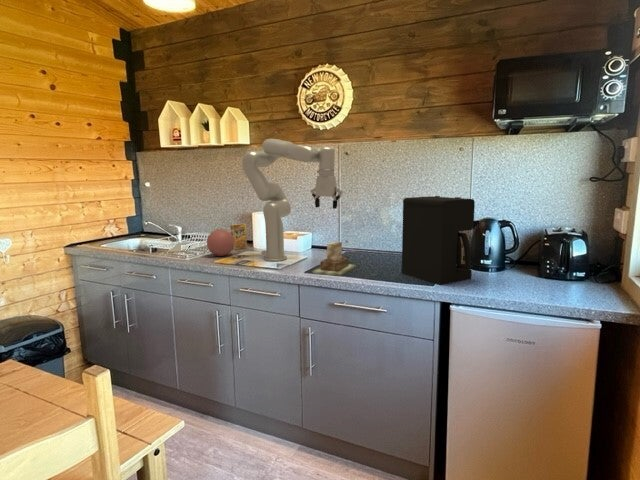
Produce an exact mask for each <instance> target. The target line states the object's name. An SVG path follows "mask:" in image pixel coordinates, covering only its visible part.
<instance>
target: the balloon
mask: <svg viewBox="0 0 640 480" xmlns="http://www.w3.org/2000/svg"><path fill="white" fill-rule="evenodd" d="M206 238H207V239H206V247H207V250H208V251H209V252H210V253H211V254H213V255H215V256H217V257H225V256H227V255H229V254H230V253H231V252H232V251H233V250H234V249H233V248H234V244H235V241H234V237H233V235H232V234H231V231H228V230H226V229H224V228H219V229H215V230H212V232H210V233H209V235H208V236H207V237H206Z"/></svg>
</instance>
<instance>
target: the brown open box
mask: <svg viewBox="0 0 640 480" xmlns="http://www.w3.org/2000/svg"><path fill="white" fill-rule="evenodd" d="M349 259H350V258H349V257H344V256H342V260H340V261H338V262H328V261H327V258H325V259H323V260H320V262H319V263H320V265H319V266H320V267H318V268H316V269H313V270H312V274H318V275H325V276H326V275H327V276H328V275H329V276H337V277H341V276H343V275H344V274H346V273H348V272H349V271H351V270H353V269H355V268H356V267H357V265H356V264H350V263H349Z"/></svg>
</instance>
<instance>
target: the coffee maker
mask: <svg viewBox="0 0 640 480" xmlns="http://www.w3.org/2000/svg"><path fill="white" fill-rule="evenodd" d="M475 206H476V203H475V200H474V199H473V198H463V197H461V196H460V197H457V196H456V197H447V196H446V197H444V196H440V195H434V196H415V197H414V196H413V197H404V199H403V200H402V232H401V233H402V237H401V238H402V243H401V244H402V245H401V248H402V250H401V274H403V275H406V276H409V277H412V276H413V278H415V277H416V279H418V280H422V281H426V282H428V281H429V282H428V283H431V284H436V285H438V286H443V285H448V284H453V282H454V283H458V282H464V281H468V280H472V252H471V245H470V242H469V239H468V235H467V233H465V231H472V230H473V228H474V223H475V209H476V208H475ZM462 245H463V248H462ZM463 252H464V253H463ZM463 254H464V263H463ZM467 279H468V280H467Z"/></svg>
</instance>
